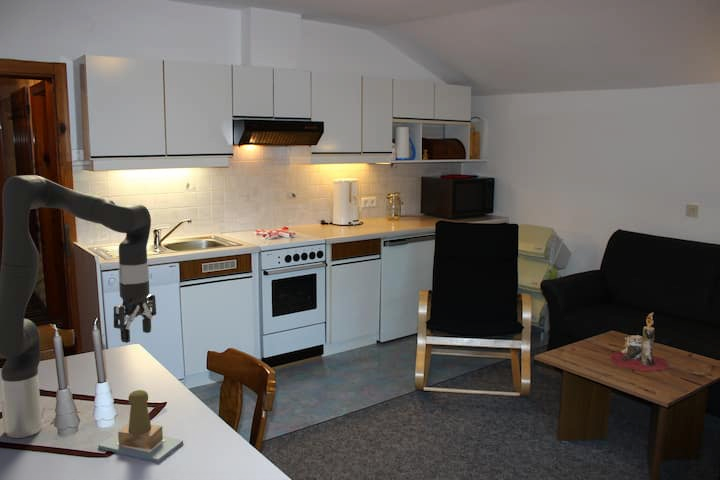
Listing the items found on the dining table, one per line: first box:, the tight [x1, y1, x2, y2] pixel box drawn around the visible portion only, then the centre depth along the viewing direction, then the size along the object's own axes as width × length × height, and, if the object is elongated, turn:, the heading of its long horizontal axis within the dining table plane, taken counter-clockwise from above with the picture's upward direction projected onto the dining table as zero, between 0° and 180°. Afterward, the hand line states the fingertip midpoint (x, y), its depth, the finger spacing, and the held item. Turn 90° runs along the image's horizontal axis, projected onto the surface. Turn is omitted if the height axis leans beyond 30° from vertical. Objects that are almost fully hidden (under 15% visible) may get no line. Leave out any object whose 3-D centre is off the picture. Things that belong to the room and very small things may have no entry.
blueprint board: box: [97, 432, 184, 464], centre depth 175 cm, size 20×11×1 cm, turn 70°
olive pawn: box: [128, 389, 152, 434], centre depth 173 cm, size 6×6×11 cm
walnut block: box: [117, 422, 164, 449], centre depth 174 cm, size 10×6×4 cm, turn 79°
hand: (136, 337), depth 169 cm, fingers open, 8 cm apart
